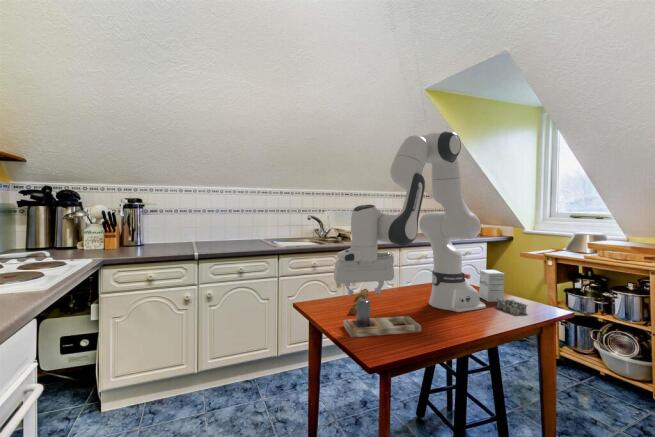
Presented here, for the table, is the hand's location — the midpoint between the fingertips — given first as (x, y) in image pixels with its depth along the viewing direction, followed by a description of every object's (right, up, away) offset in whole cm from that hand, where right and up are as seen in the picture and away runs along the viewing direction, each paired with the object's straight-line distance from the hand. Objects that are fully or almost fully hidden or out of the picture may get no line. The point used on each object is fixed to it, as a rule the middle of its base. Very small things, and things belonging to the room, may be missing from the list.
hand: (364, 294), depth 113 cm
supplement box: (+60, -11, +37) cm, 71 cm away
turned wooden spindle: (+2, -11, +31) cm, 33 cm away
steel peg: (0, -12, 0) cm, 12 cm away
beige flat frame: (+6, -12, +2) cm, 14 cm away
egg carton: (+62, -12, +23) cm, 67 cm away
